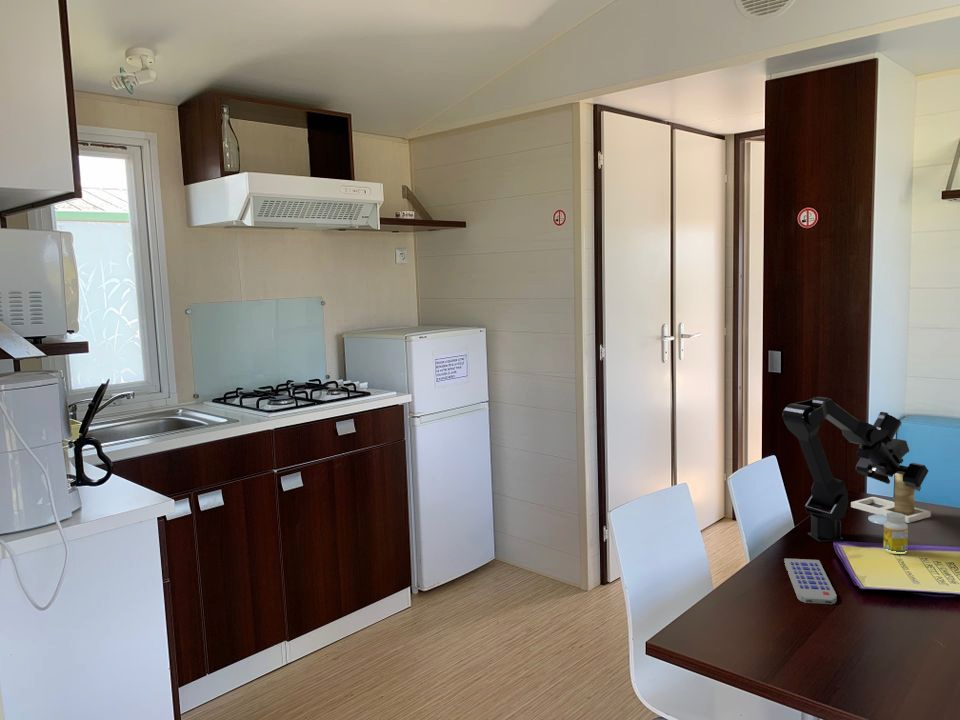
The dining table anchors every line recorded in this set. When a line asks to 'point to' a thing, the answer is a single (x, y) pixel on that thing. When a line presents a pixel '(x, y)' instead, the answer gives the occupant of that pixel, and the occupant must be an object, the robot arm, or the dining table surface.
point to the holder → (888, 508)
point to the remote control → (810, 581)
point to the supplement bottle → (895, 532)
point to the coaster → (878, 519)
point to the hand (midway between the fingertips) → (904, 486)
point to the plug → (903, 497)
